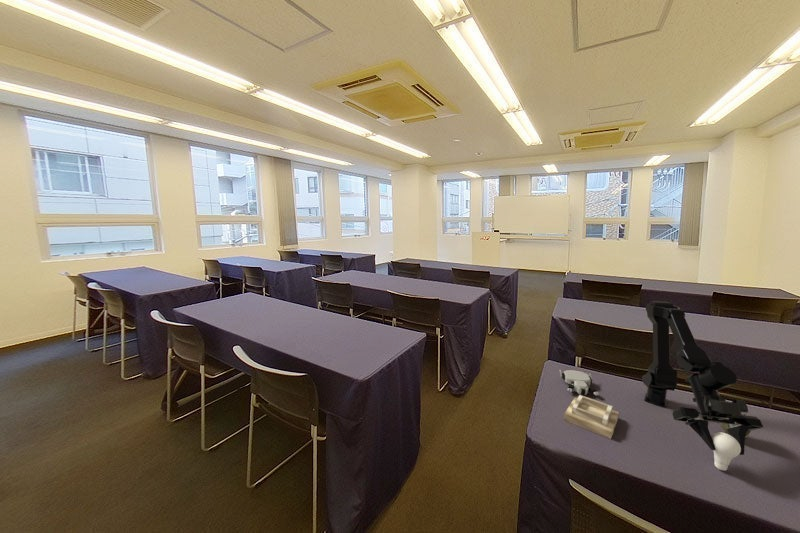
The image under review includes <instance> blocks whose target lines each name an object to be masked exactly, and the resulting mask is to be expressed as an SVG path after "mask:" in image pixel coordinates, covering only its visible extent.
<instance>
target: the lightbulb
mask: <svg viewBox="0 0 800 533" xmlns="http://www.w3.org/2000/svg"><path fill="white" fill-rule="evenodd" d="M710 435H711V437H712V440H713V443H714V446H715V450H712V451H713V459H714V467H716V468H717V469H718V470H719V471H727V470H728V467H729V465H730V464H731V461H732V460H733V459H734V458H736V457H737V456H739V455H740V452H741V447H740V444H739V443H738V441H737V440H736V439H735V438H734V437H732V436H731V435H729V434H726V433H725V432H720V431H717V432H713V433H712V434H710Z"/></svg>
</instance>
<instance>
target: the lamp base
mask: <svg viewBox="0 0 800 533" xmlns="http://www.w3.org/2000/svg"><path fill="white" fill-rule="evenodd" d="M613 407H614V406H613V405H611V404H607V403H605V402H602V401H599V400H596V399H594V398H590V397H587V396H586V395H583V394H578V397H576V396H574V398H573V399H572V401H571V403H570V404H569V406H568V407H567V409H566V411H565V412H564V415H563V420H564V421H565V422H567V423H570V424H572V425H575V426H577V427H580V428H582V429H585V430H588V431H590V432H592V433H595V434H597V435H599V436H602V437H605V438H607V439H609V440H611V439H612V437H613V434H614V432H615V428H616V426H617V423H618V420H619V414H620V412H619V411H617V410H614V409H613Z"/></svg>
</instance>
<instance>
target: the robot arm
mask: <svg viewBox="0 0 800 533" xmlns="http://www.w3.org/2000/svg"><path fill="white" fill-rule="evenodd" d="M645 311H646V314H647V318H648V319H649V321H650V322H651V324H652V347H653V349H652V352H653V354H652V357H653V358H652V359H653V360H652V362H651V364H649V366H648V368H647V373H645V374H643V375H642V376H641V381H642V383H643V384H644V385H645V386H646V387H647V390H646V393H645V395H644V401H645V402H647V403H651V404H654V405H656V406H659V407H663V408H667V403H668V402H667V401H668V399H667V394H668V391H673V392H674V391H675V390H676V387H677V385H678V383H679V380H678V371H677V369H675V368H674V367H673V366H672V365H671V348H670V347H671V346H670V344H671V342H670V330H671V334H672V336H673V338H674V341H675V344H676V345H677V351H676V354H675V355H676V362H677V365H678V366H679V368H680V369H681V370H683V371H684V372H691V373H688V374H687V376H686V378H685V383H689V385H690V388H691V391H692V393H693V396H694V397H693V398H692V401H693V402H694V403H696V405H697V408H698V409H696V408H693V407H691V408H690V407H685V406H684V407H683V406H682V407H679V408H676V409H674V410H673V411H672V418H673V419H674V421H677V422H684V423H685V426H689V427H690V428H691V429H693V431H694V432H695V433H696V434H697V435H698V436H699V437H700V438H701V439H702V441H704V443H705V444H706V445H707V446H708V448H709V449H710V450H711V451H713V450H715V446H714V443H713V440H712V437H711V435H712V434H711V433H710V429H709V422H711V423H712V422H713V423H720V424H721V423H726V424H729V426H730V428H729V429H727V430H728V433H729V435H731V436H732V437H734V438H735V439H736V440H737V441H738V443H739V444H740V447H741V452H740V454H739V455H740V456H743V455H745V444H746V442H745V441H746V437H747V436H746V433H747V432H748V431H750V432H752V431H755V430H759V429H764V428H765V426H764V424H763V421H762V420H761V419H759V417H757V416H752V415H746V414H747V413H749V408H748V404H747V403H746V401H745V400H743V399H737V398H735V399H734V398H732V400H731V401H726V399H725V397H724V396H723V395H720V394H719V391H720V390H723V389H725V388H727V387H730V386H732V385H734V384H736V382H737V381H738V378H737V375H736V373H734V372H733V370H731V369H730V368H729V367H727V366H726V365H724V364H723V362H722V361H713V360H711V358H710V356H709V355H708V353H707V352H706V351H705V350H704V349H703V348H701V347H699V346H698V343H697V341H696V340H695V337H694V336H693V332H692V330H691V329H690V326H689V324H688V322H687V320H686V313H685V311H684V310H683V309H680V307H679V306H677V305H674V304H673V303H672V302H670V301H657V300H654V301H653V300H652V301H649V303H647V304H646V305H645ZM743 413H744V414H745V415H744V414H743ZM733 414H736V415H738V416H736V417H728V416H731V415H733ZM720 419H723V420H720ZM745 436H746V437H745Z"/></svg>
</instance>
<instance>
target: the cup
mask: <svg viewBox="0 0 800 533" xmlns="http://www.w3.org/2000/svg"><path fill="white" fill-rule="evenodd" d="M743 415H746V413H743ZM736 416H738V415H736V414H733V415H731V416H728V417H736ZM719 420H723V419H719ZM720 426H721V429H722V430H724V433H726V434H729V433H728V430H727V429H729V428H730V426H729V424H726V423H720ZM750 433H751V431H748V432H747V433H746V436H745V438H746V437H748V436H749V435H750Z"/></svg>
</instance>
